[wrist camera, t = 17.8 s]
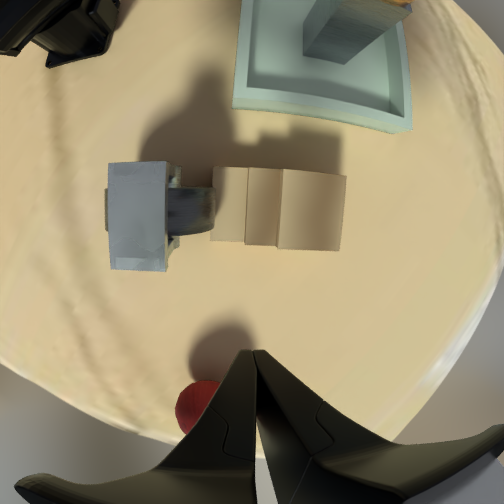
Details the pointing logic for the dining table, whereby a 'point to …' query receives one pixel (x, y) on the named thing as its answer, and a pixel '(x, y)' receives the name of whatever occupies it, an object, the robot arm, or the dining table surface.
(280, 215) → the block
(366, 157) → the dining table surface
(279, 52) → the tray
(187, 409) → the onion
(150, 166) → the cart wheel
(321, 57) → the pin
